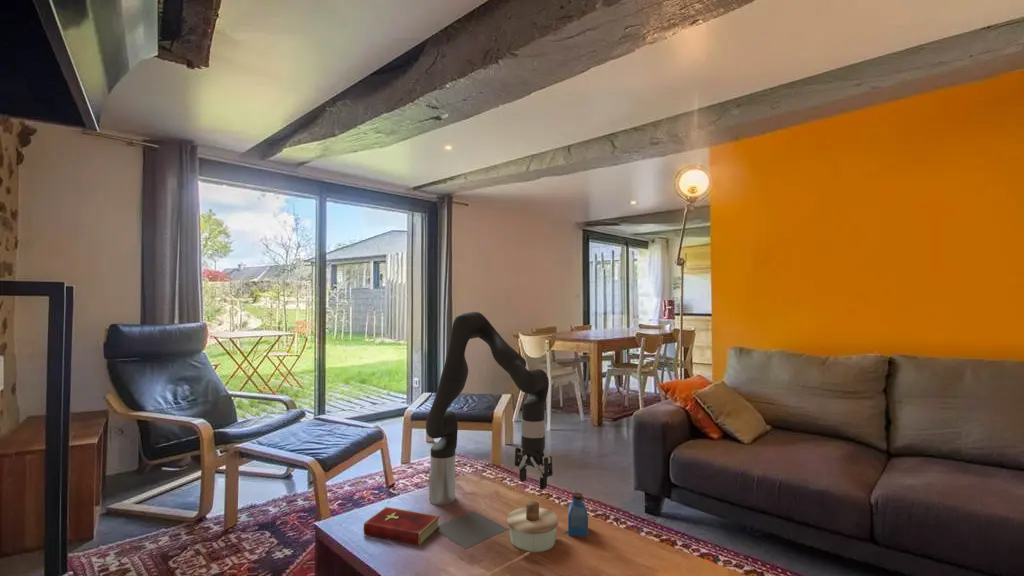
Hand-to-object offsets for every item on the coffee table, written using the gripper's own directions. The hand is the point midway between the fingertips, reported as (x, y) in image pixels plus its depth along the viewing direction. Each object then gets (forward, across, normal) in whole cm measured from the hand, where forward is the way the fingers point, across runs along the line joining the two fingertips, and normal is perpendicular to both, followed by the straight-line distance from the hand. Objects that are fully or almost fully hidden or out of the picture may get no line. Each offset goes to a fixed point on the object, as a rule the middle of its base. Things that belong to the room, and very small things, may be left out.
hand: (533, 484), depth 150 cm
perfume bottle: (+18, +6, +15) cm, 24 cm away
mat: (+18, -19, -10) cm, 28 cm away
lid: (+11, 0, 0) cm, 11 cm away
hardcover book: (+18, -33, -27) cm, 46 cm away
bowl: (+17, 0, 0) cm, 17 cm away
